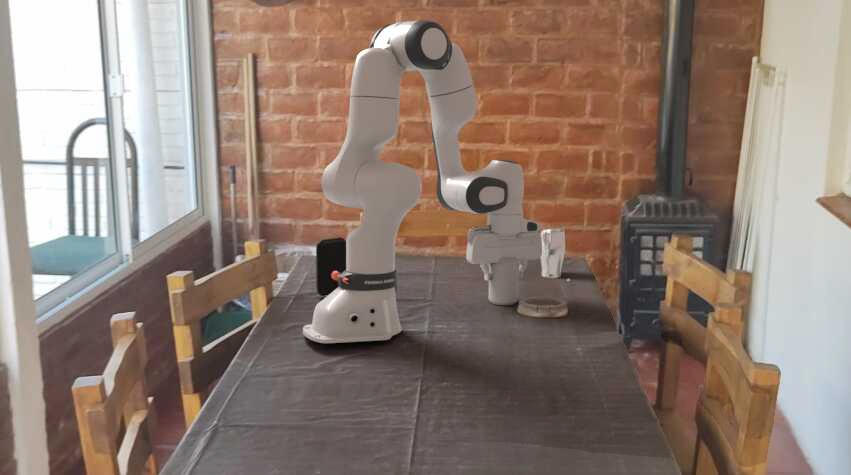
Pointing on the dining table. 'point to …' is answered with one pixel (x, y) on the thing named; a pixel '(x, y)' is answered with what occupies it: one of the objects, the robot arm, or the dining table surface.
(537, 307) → the beige round shallow dish
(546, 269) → the beer glass
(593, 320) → the dining table surface
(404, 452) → the dining table surface
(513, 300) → the can
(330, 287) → the carrying case or bag
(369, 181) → the robot arm
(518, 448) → the dining table surface
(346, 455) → the dining table surface
